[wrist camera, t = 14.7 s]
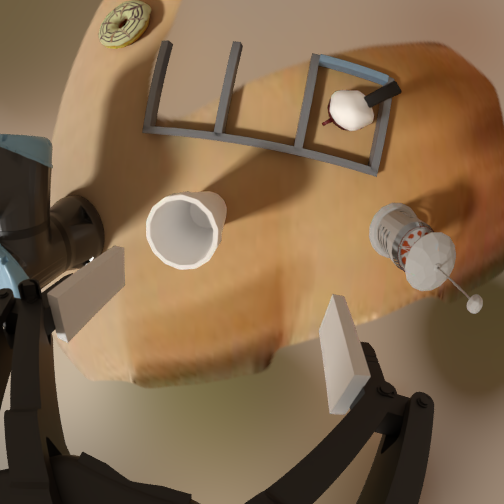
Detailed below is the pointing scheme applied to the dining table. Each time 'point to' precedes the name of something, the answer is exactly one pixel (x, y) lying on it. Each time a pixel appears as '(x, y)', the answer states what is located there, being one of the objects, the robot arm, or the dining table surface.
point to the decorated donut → (134, 28)
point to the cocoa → (357, 106)
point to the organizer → (304, 115)
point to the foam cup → (186, 228)
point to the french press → (416, 249)
